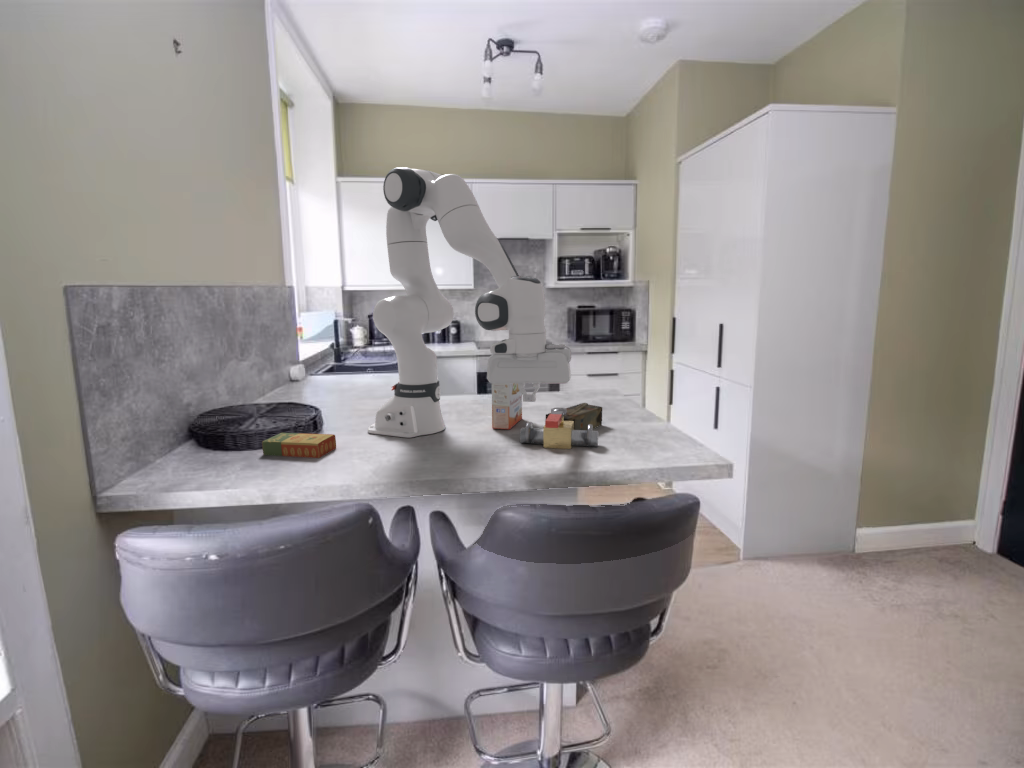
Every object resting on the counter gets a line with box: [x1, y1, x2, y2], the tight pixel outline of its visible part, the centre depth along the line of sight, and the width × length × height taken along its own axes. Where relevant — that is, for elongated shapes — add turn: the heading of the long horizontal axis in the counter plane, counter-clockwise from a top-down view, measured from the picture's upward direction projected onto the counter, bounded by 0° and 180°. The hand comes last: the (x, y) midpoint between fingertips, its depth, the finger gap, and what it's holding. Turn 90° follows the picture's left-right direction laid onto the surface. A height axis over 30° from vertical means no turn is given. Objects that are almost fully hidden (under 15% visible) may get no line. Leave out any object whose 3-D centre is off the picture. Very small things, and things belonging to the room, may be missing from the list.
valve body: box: [519, 416, 599, 450], centre depth 134 cm, size 20×7×8 cm, turn 77°
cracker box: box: [491, 383, 523, 431], centre depth 154 cm, size 14×6×21 cm, turn 164°
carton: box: [261, 432, 337, 459], centre depth 133 cm, size 8×16×4 cm, turn 78°
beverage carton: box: [544, 402, 603, 430], centre depth 147 cm, size 8×19×7 cm, turn 140°
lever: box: [544, 407, 567, 428], centre depth 128 cm, size 14×4×2 cm, turn 167°
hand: (529, 401), depth 126 cm, fingers closed
